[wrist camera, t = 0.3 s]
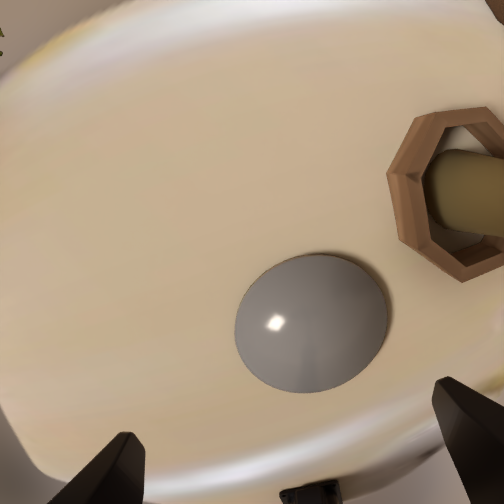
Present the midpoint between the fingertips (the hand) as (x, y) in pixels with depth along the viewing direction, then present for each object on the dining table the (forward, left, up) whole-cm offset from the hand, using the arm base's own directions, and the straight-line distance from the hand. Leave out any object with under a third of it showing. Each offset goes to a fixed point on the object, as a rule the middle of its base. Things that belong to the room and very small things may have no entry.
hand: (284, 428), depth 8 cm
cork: (+2, -15, -14) cm, 21 cm away
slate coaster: (-5, -2, -14) cm, 15 cm away
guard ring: (+2, -15, -14) cm, 21 cm away
